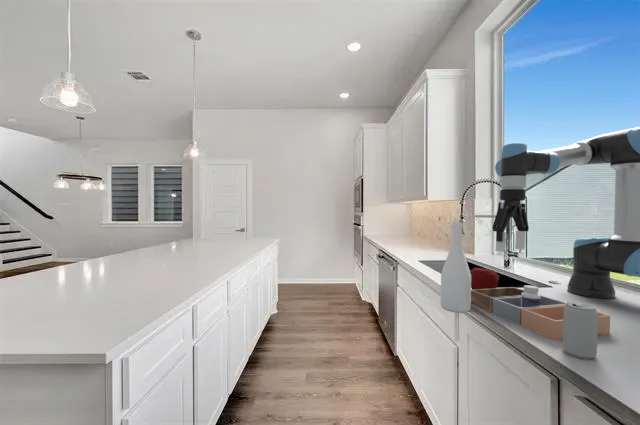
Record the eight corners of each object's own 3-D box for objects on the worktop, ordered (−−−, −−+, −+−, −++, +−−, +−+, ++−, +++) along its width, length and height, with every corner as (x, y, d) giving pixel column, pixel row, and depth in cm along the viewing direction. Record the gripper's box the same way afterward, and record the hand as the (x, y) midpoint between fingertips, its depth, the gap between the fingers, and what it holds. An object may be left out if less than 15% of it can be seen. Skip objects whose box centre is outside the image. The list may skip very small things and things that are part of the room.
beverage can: (555, 348, 80) (557, 300, 80) (579, 347, 80) (580, 300, 80) (578, 360, 73) (580, 309, 73) (604, 360, 74) (605, 308, 74)
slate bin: (539, 309, 111) (539, 294, 111) (570, 319, 100) (570, 304, 100) (492, 313, 106) (492, 298, 106) (519, 325, 96) (520, 308, 95)
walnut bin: (512, 300, 121) (513, 287, 121) (538, 308, 111) (538, 294, 111) (469, 303, 116) (469, 289, 116) (491, 312, 106) (491, 298, 106)
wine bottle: (472, 315, 104) (474, 223, 103) (441, 311, 107) (442, 222, 106) (468, 306, 113) (470, 221, 112) (440, 303, 116) (441, 221, 115)
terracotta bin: (571, 320, 100) (571, 304, 100) (609, 333, 90) (610, 315, 90) (521, 325, 95) (521, 308, 95) (555, 340, 85) (555, 321, 85)
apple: (504, 299, 123) (505, 268, 122) (479, 300, 121) (480, 269, 121) (485, 291, 133) (486, 263, 133) (462, 292, 132) (462, 264, 132)
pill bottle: (543, 320, 100) (544, 289, 100) (524, 318, 101) (525, 288, 101) (535, 314, 105) (536, 285, 105) (517, 313, 106) (518, 284, 106)
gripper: (518, 191, 120) (516, 247, 121) (482, 187, 106) (480, 250, 107) (541, 190, 114) (538, 249, 115) (505, 186, 100) (503, 253, 101)
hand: (510, 250), depth 111 cm, fingers open, 13 cm apart
